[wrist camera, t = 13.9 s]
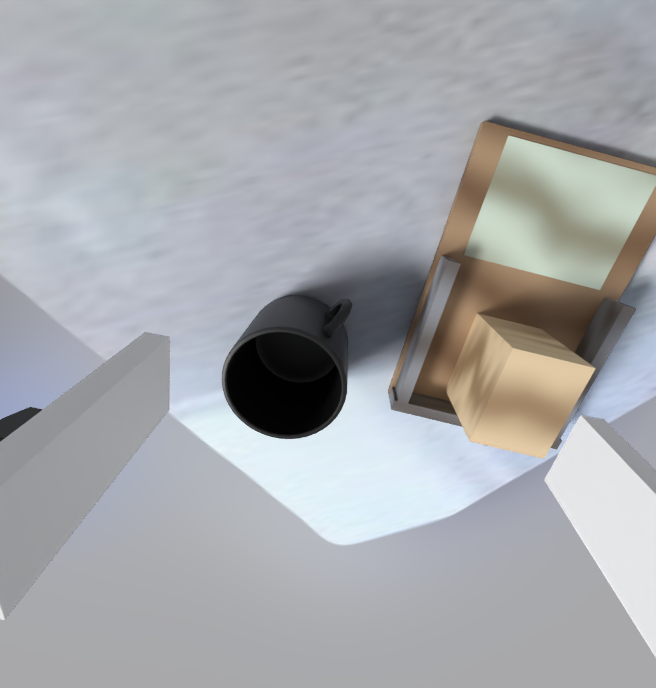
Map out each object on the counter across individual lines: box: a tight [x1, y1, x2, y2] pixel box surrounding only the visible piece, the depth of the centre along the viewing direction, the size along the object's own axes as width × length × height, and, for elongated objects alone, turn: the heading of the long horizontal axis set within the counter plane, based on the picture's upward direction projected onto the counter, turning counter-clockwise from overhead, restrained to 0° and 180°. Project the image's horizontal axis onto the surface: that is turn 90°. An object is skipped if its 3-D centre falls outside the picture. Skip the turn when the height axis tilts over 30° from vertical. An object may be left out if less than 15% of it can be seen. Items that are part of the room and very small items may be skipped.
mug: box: [222, 296, 352, 439], centre depth 32 cm, size 9×12×9 cm
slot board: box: [388, 121, 656, 449], centre depth 32 cm, size 24×16×4 cm, turn 166°
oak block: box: [446, 313, 596, 459], centre depth 31 cm, size 8×6×8 cm
